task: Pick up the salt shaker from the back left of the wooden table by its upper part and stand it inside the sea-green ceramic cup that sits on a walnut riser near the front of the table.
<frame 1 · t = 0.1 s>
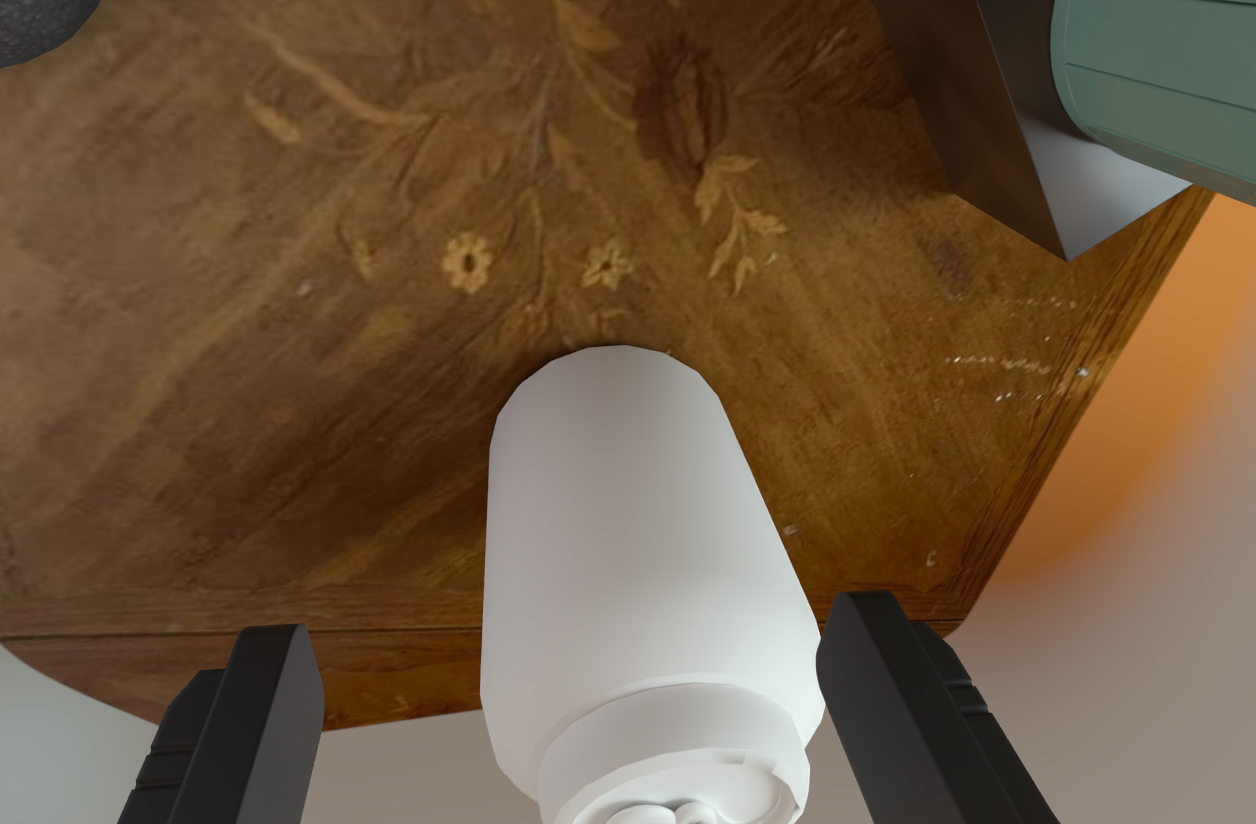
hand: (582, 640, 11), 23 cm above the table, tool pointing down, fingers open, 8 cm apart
can: (608, 438, 38), on the table
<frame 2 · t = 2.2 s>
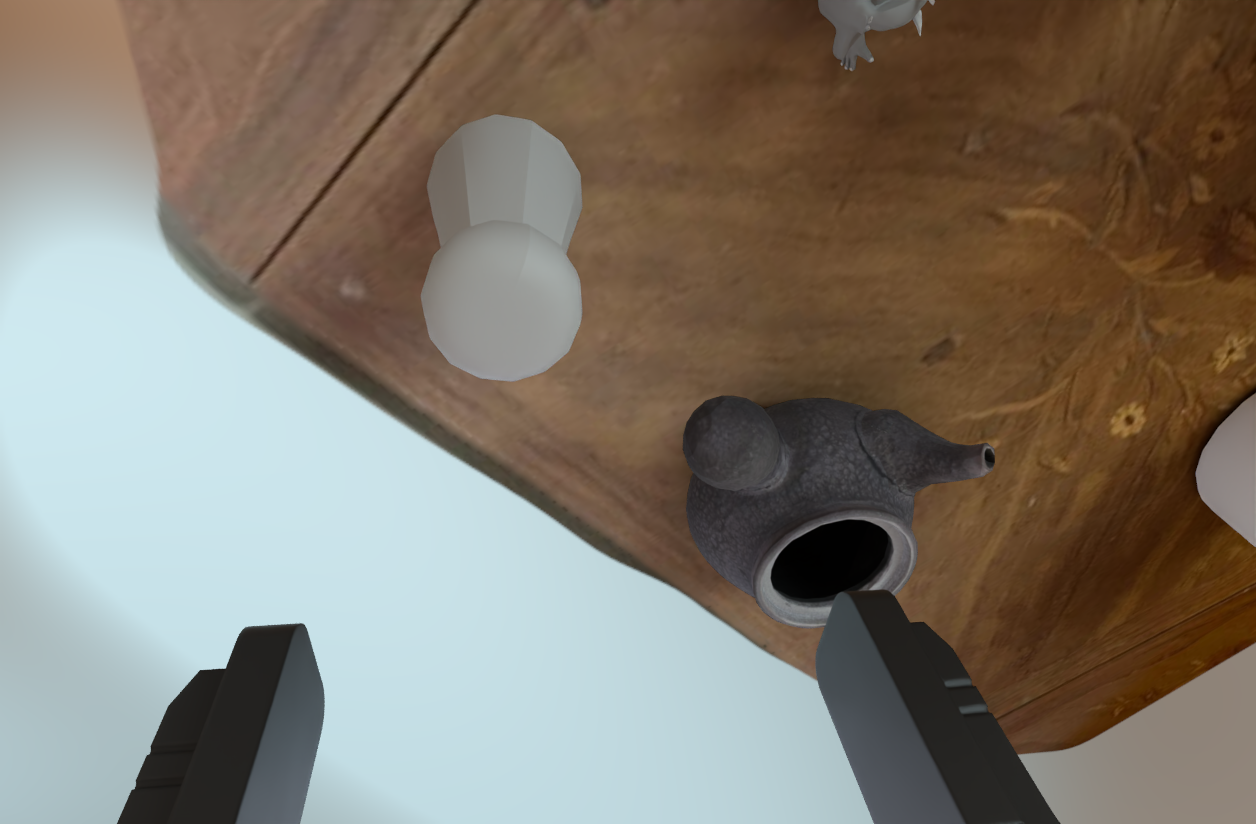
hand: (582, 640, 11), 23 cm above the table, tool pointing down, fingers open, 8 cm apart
salt shaker: (506, 176, 29), on the table
teapot: (771, 427, 38), on the table
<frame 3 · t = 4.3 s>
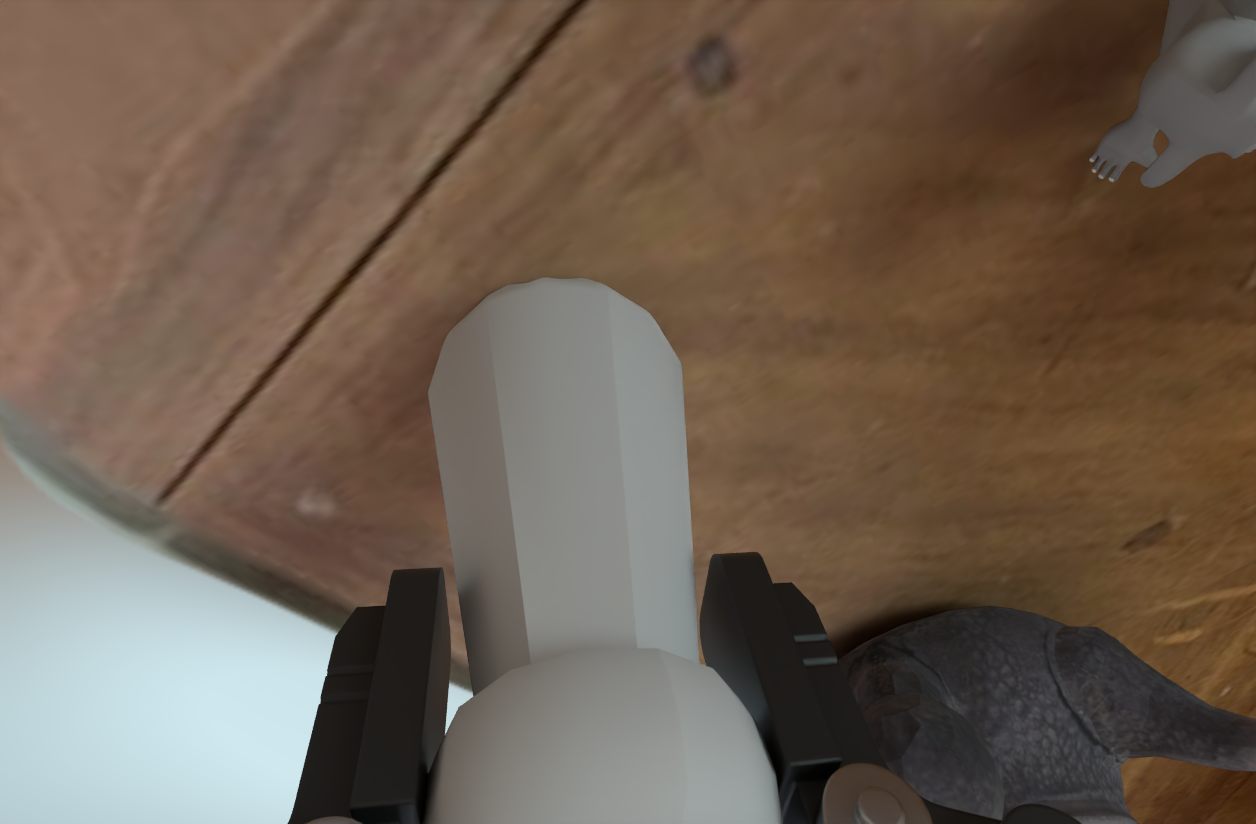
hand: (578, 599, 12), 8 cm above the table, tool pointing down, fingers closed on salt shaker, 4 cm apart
salt shaker: (553, 345, 18), on the table, touching gripper
teapot: (905, 632, 28), on the table
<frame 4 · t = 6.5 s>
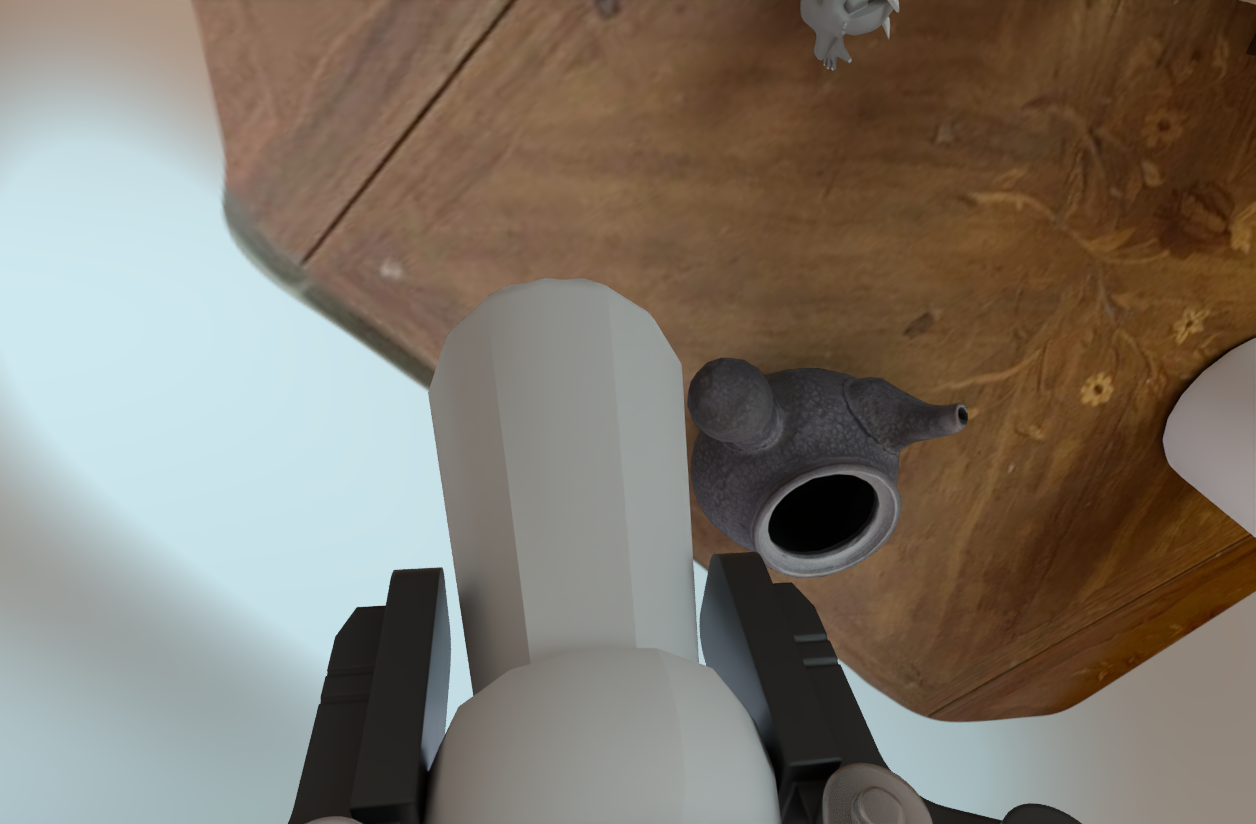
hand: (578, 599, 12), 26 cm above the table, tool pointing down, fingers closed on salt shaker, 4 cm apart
salt shaker: (553, 345, 18), point 17 cm above the table, touching gripper
teapot: (768, 397, 42), on the table
can: (1245, 400, 48), on the table
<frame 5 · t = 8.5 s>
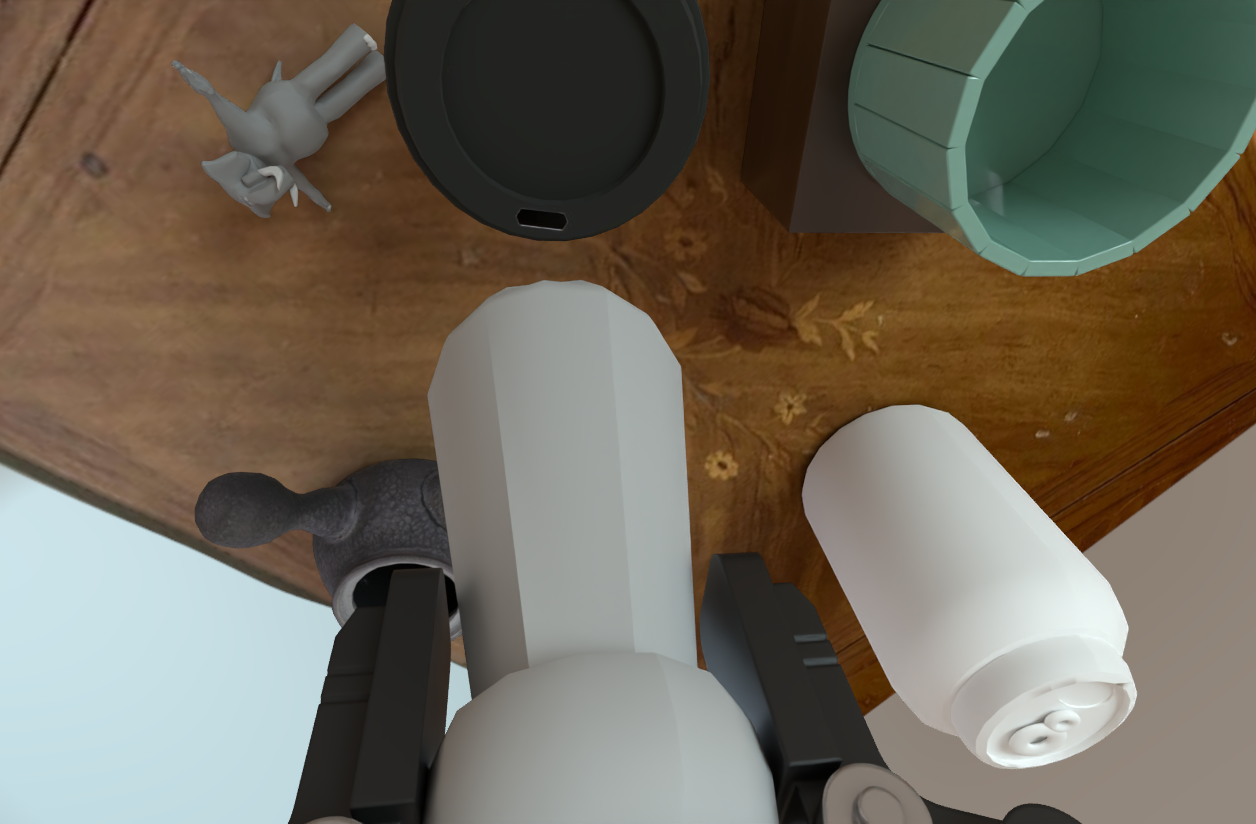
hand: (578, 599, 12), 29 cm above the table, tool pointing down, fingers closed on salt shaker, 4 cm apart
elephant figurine: (299, 97, 33), on the table
salt shaker: (552, 347, 18), point 20 cm above the table, touching gripper
walnut riser: (886, 48, 35), on the table
green cup: (973, 75, 28), resting on walnut riser
teapot: (390, 481, 45), on the table
coffee cup: (538, 33, 32), on the table
can: (881, 470, 51), on the table
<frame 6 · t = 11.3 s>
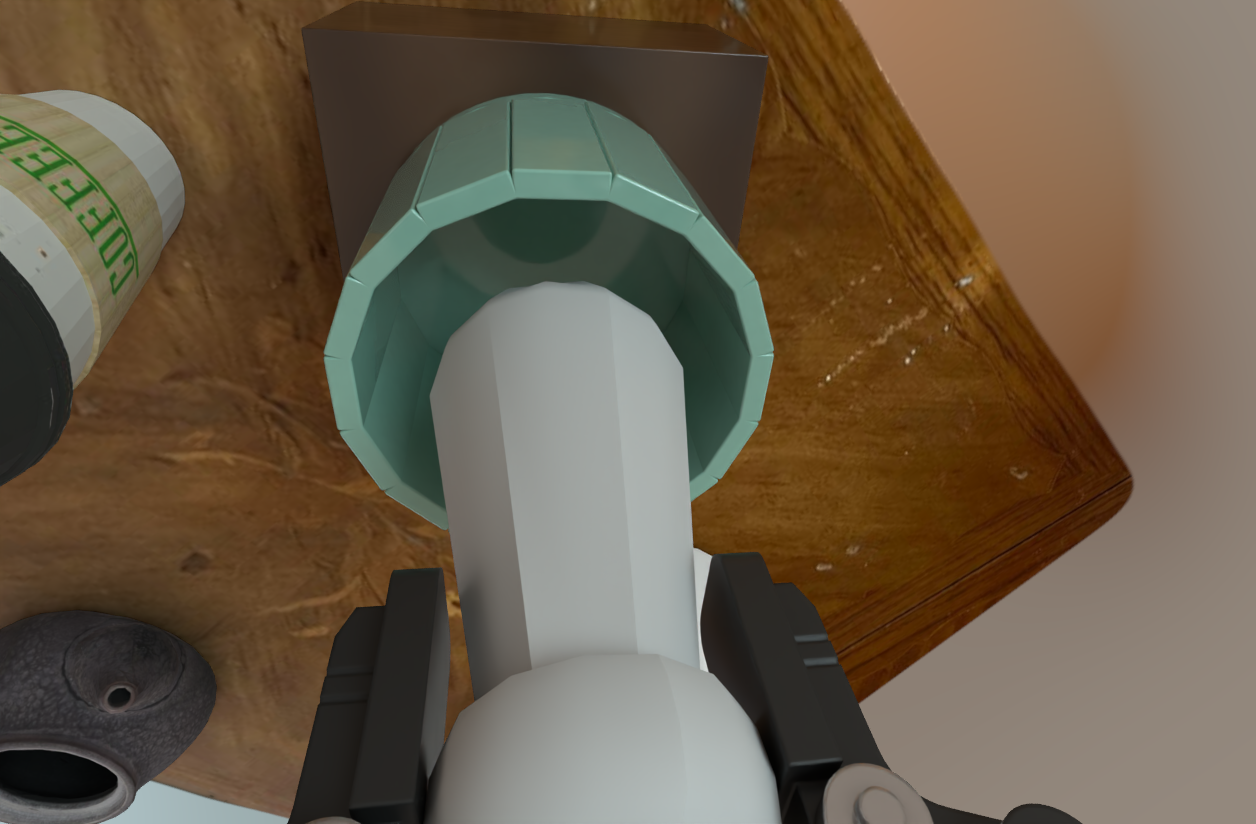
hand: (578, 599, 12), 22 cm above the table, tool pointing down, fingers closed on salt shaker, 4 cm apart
salt shaker: (554, 348, 18), point 14 cm above the table, touching gripper
walnut riser: (538, 188, 30), on the table
green cup: (545, 262, 23), resting on walnut riser
teapot: (65, 628, 40), on the table
coffee cup: (98, 174, 27), on the table
can: (646, 604, 46), on the table
when the fingers open (17 cm above the table, at t = 13.0 s): salt shaker stays where it is, resting on green cup.
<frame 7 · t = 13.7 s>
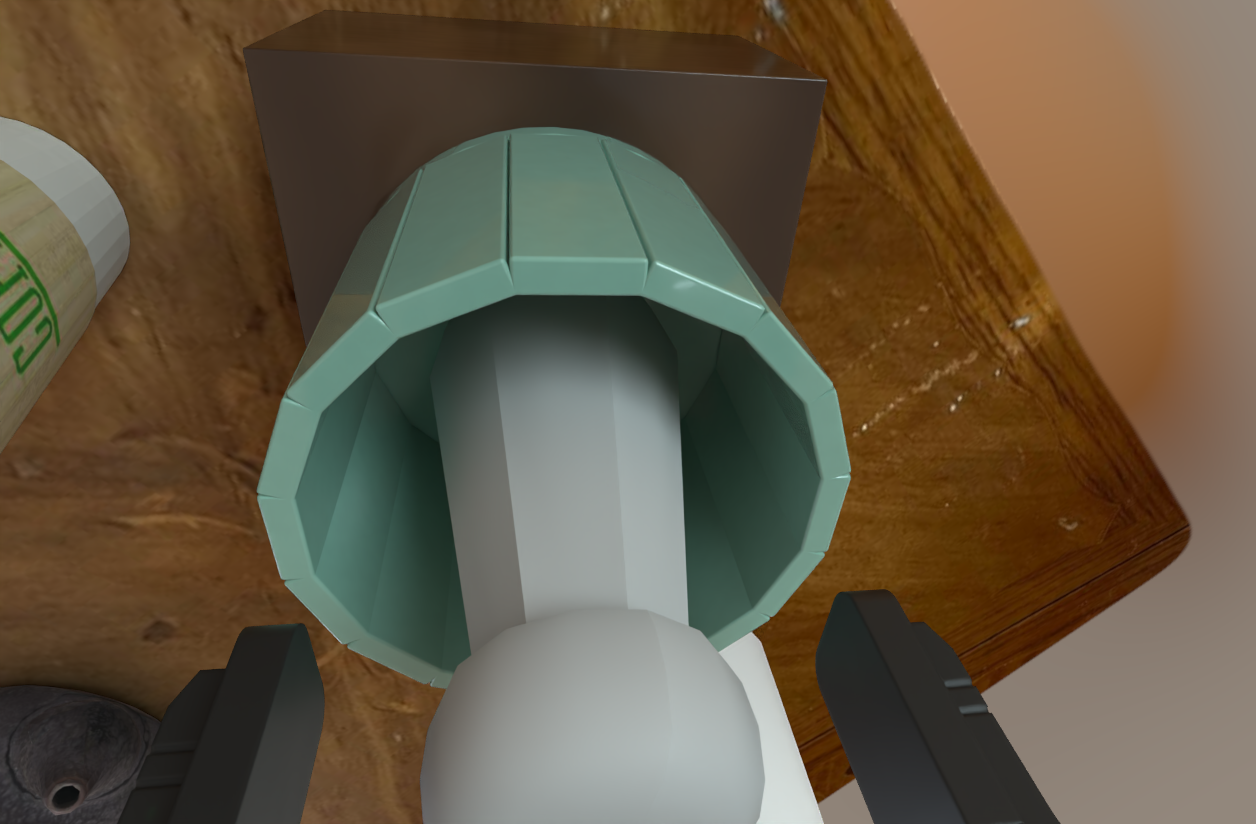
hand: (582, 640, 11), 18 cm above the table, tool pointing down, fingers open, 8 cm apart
salt shaker: (552, 333, 19), point 9 cm above the table, touching green cup
walnut riser: (540, 223, 26), on the table
green cup: (551, 324, 19), resting on walnut riser
teapot: (16, 700, 37), on the table
coffee cup: (26, 211, 23), on the table
can: (658, 664, 42), on the table
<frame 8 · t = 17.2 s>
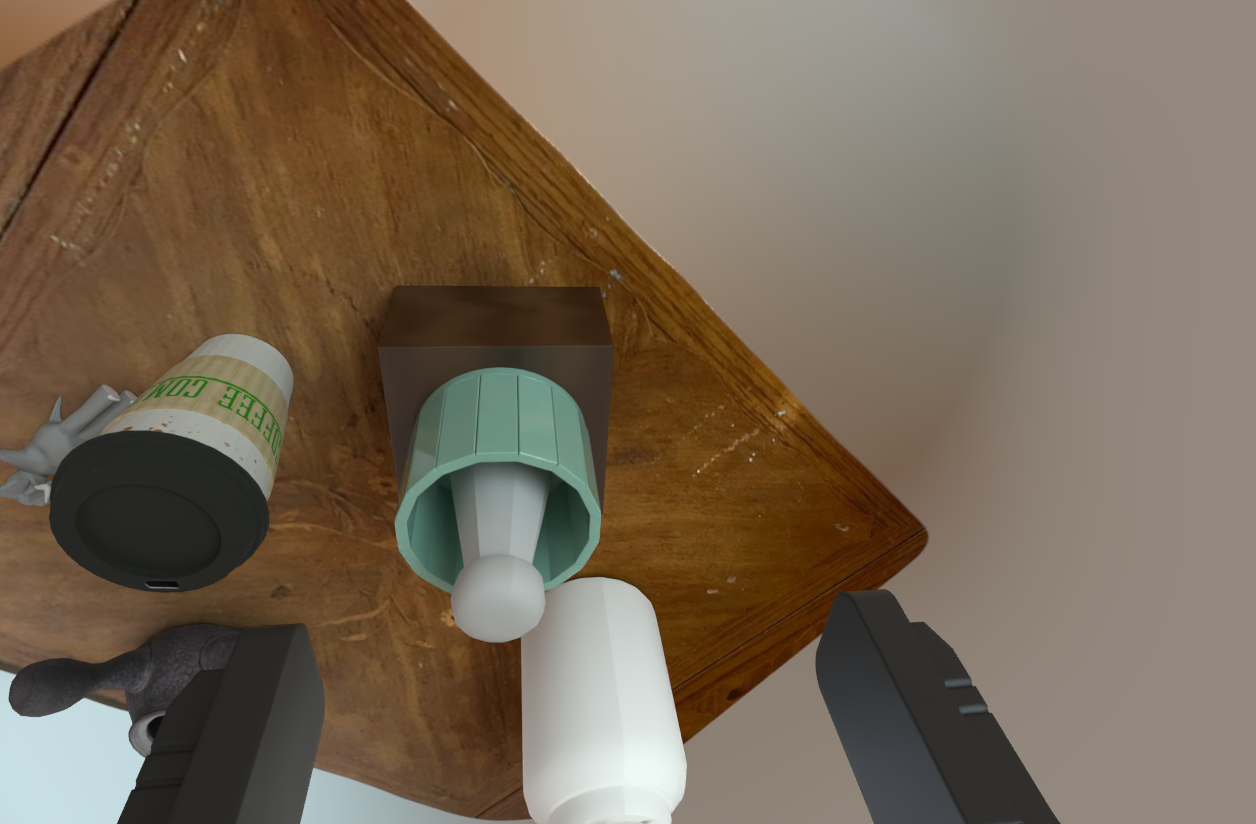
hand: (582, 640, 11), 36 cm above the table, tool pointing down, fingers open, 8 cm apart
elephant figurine: (78, 413, 47), on the table
salt shaker: (502, 445, 42), point 9 cm above the table, touching green cup
walnut riser: (503, 371, 49), on the table
green cup: (502, 439, 43), resting on walnut riser
teapot: (191, 635, 60), on the table
coffee cup: (244, 373, 47), on the table
can: (587, 617, 66), on the table
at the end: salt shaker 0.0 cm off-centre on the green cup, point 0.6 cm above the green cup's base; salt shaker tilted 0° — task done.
